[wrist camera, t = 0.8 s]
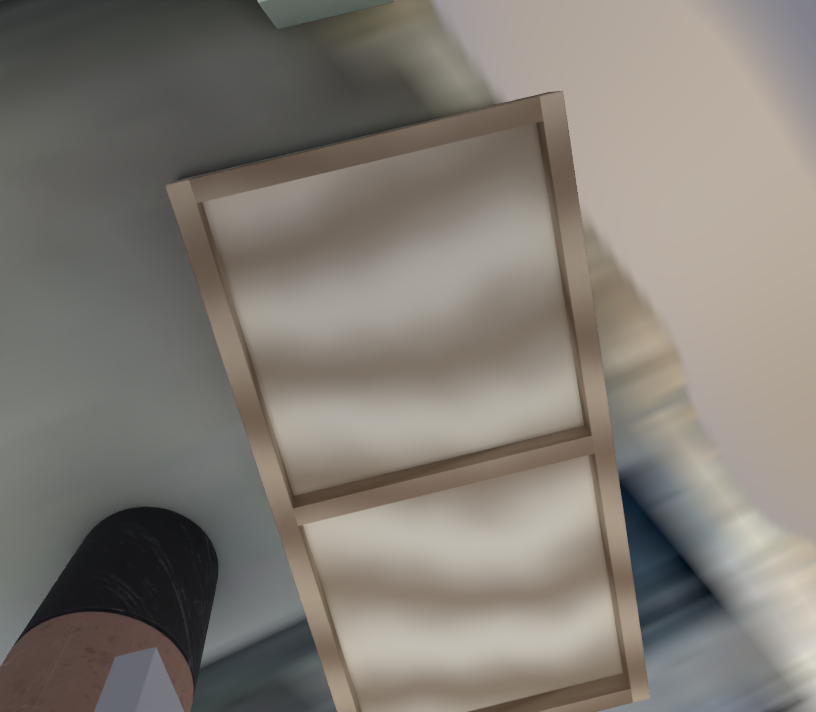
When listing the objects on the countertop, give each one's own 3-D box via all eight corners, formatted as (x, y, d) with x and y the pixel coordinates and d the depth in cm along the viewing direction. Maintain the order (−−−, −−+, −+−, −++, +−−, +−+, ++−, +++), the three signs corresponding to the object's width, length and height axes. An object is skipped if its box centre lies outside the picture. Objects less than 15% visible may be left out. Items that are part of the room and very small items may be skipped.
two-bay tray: (176, 180, 33) (165, 185, 30) (548, 92, 33) (562, 91, 31) (356, 739, 43) (356, 771, 41) (635, 670, 44) (650, 698, 41)
